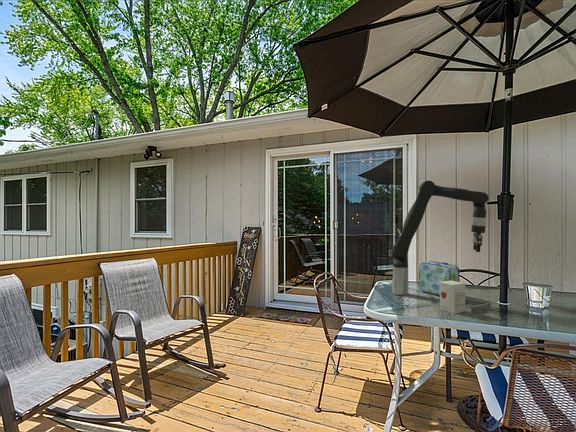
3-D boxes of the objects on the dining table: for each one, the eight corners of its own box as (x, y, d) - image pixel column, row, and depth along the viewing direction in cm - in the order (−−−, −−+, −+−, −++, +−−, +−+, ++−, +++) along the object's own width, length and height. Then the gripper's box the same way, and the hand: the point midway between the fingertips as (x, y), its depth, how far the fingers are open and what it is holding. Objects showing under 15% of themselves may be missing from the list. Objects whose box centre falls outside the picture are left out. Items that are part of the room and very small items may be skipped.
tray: (473, 313, 177) (473, 307, 177) (444, 306, 191) (444, 300, 191) (490, 308, 185) (490, 303, 185) (462, 302, 199) (462, 297, 199)
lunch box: (462, 297, 211) (462, 263, 211) (450, 299, 206) (450, 264, 206) (428, 289, 234) (428, 258, 235) (417, 291, 230) (416, 259, 230)
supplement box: (439, 309, 183) (439, 281, 183) (450, 307, 187) (450, 280, 187) (454, 314, 175) (454, 284, 175) (465, 311, 179) (465, 282, 179)
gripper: (469, 223, 220) (467, 248, 221) (473, 225, 207) (471, 252, 208) (483, 224, 218) (481, 249, 219) (488, 226, 204) (485, 253, 205)
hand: (476, 250), depth 213 cm, fingers open, 8 cm apart
